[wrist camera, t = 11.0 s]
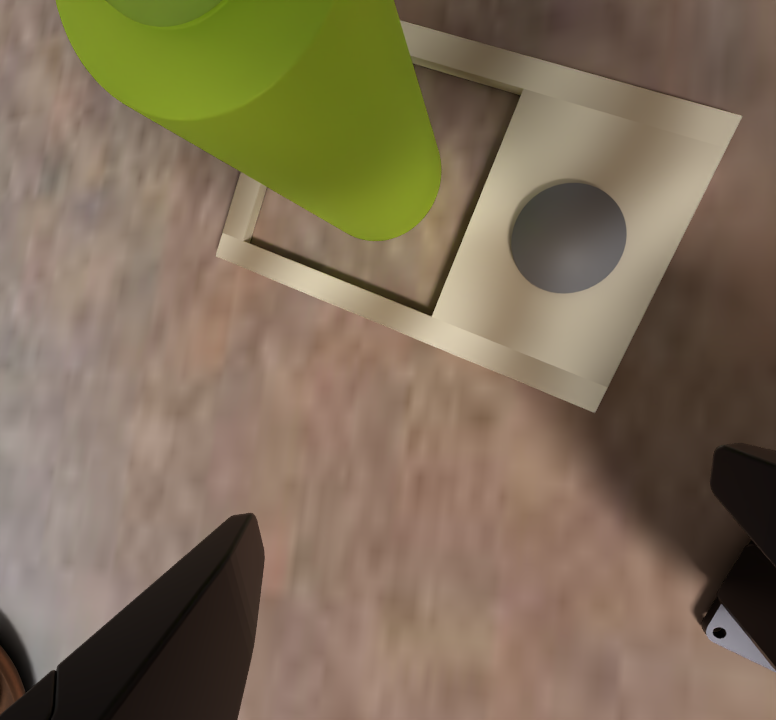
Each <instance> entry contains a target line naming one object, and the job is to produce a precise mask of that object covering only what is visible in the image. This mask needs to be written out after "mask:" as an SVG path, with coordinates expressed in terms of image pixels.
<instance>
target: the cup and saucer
mask: <svg viewBox="0 0 776 720" xmlns="http://www.w3.org/2000/svg"><path fill="white" fill-rule="evenodd" d="M24 694H25V690H24V686H23V684H22V681H21V678H20V676H19V674H18V671H17V669H16V668H15V666H14V664H13V662H12V661H11V659H10V657H9V656H8V655H7V653H6V652H5V650H4V649H3V648H2V647H1V646H0V714H1V713H2V712H4V711H5V710H6V709H7V708H8V707H10V706H11V705H12V704H13V703H14V702H16V701H17V700H18V699H19V698H20V697H22V696H23V695H24Z"/></svg>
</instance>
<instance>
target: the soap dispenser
mask: <svg viewBox="0 0 776 720" xmlns="http://www.w3.org/2000/svg"><path fill="white" fill-rule="evenodd" d="M56 4H57V8H58V12H59V15H60V18H61V21H62V24H63V27H64V29H65V32H66V34H67V36H68V39H69V41H70V43H71V45H72V47H73V49H74V51H75V52H76V54H77V56H78V57H79V59H80V61H81V62H82V64H83V65H84V66H85V68H86V69H87V70H88V72H89V73H90V74H91V75H92V77H93V78H94V79H95V80H96V81H97V82H98V83H99V84H100V85H101V86H102V87H103V88H104V89H105V90H106V91H107V92H108V93H110V94H111V95H112V96H113V97H115V98H116V99H117V100H119V101H120V102H122V103H123V104H125V105H127V106H128V107H130V108H132V109H133V110H135V111H137V112H138V113H140V114H142V115H144V116H145V117H147V118H149V119H151V120H152V121H154V122H156V123H157V124H159V125H161V126H163V127H164V128H166V129H168V130H170V131H171V132H173V133H175V134H176V135H178V136H180V137H182V138H183V139H185V140H187V141H189V142H190V143H192V144H194V145H195V146H197V147H199V148H201V149H202V150H204V151H206V152H208V153H209V154H211V155H213V156H214V157H216V158H218V159H220V160H221V161H223V162H225V163H227V164H228V165H230V166H232V167H233V168H235V169H237V170H239V171H240V172H242V173H244V174H246V175H247V176H249V177H251V178H252V179H254V180H256V181H258V182H259V183H261V184H263V185H265V186H266V187H268V188H270V189H271V190H273V191H275V192H277V193H278V194H280V195H282V196H283V197H285V198H287V199H289V200H290V201H292V202H294V203H296V204H297V205H299V206H301V207H302V208H304V209H306V210H308V211H309V212H311V213H313V214H315V215H316V216H318V217H320V218H321V219H323V220H325V221H327V222H328V223H330V224H332V225H334V226H335V227H337V228H339V229H340V230H342V231H344V232H346V233H347V234H349V235H351V236H353V237H356V238H359V239H363V240H368V241H383V240H389V239H392V238H395V237H398V236H400V235H402V234H404V233H406V232H408V231H409V230H411V229H412V228H414V227H415V226H416V225H417V224H418V223H419V222H420V221H421V220H422V219H423V218H424V217H425V216H426V214H427V213H428V211H429V210H430V208H431V207H432V205H433V203H434V201H435V199H436V196H437V193H438V190H439V186H440V181H441V160H440V154H439V151H438V147H437V144H436V141H435V137H434V134H433V130H432V127H431V124H430V120H429V117H428V114H427V110H426V107H425V104H424V100H423V97H422V93H421V90H420V87H419V83H418V80H417V77H416V73H415V70H414V66H413V63H412V60H411V56H410V53H409V50H408V46H407V43H406V40H405V36H404V33H403V29H402V26H401V23H400V19H399V16H398V13H397V9H396V6H395V3H394V0H56Z"/></svg>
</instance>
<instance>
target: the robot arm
mask: <svg viewBox="0 0 776 720" xmlns="http://www.w3.org/2000/svg"><path fill="white" fill-rule="evenodd" d="M710 485H711V489H712V491H713V493H714V495H715V496H716V498H717V499H718V500H719V501H720V502H721V504H722V505H723V506H724V507H725V508H726V509H727V511H728V512H729V513H730V514H731V515H732V517H733V518H734V519H735V520H736V521H737V522H738V524H739V525H740V526H741V527H742V528H743V530H744V531H745V532H746V533H747V534H748V536H749V537H750V538H751V539H752V540H751V542H750V543H749V545H748V546H746V547H745V548H744V550H743V551H742V553H741V555H740V556H739V558H738V560H737V561H736V563H735V564H734V566H733V568H732V569H731V571H730V573H729V574H728V576H727V578H726V579H725V581H724V583H723V584H722V586H721V588H720V589H719V591H718V593H717V598H716V599H715V601H714V603H713V604H712V606H711V608H710V609H709V611H708V613H707V614H706V616H705V618H704V619H703V621H702V624H701V625H702V629H703V631H704V632H705V634H706V635H707V637H708V638H709V640H711V641H712V642H714V643H716V644H718V645H720V646H722V647H724V648H726V649H728V650H730V651H732V652H735V653H737V654H739V655H741V656H743V657H745V658H747V659H749V660H751V661H753V662H755V663H757V664H759V665H762V666H764V667H766V668H768V669H770V670H772V671H774V672H776V451H774V450H770V449H765V448H761V447H757V446H752V445H748V444H744V443H734V444H727V445H721V446H719V447H717V448H716V450H715V451H714V455H713V463H712V470H711V478H710ZM264 559H265V556H264V547H263V543H262V539H261V535H260V530H259V526H258V522H257V519H256V516H255V515H254V514H253V513H246V514H239V515H233V516H231V517H229V518H228V519H227V520H226V521H225V522H223V523H222V524H221V525H220V526H219V527H218V528H217V529H215V530H214V531H213V532H212V533H211V534H210V535H208V536H207V537H206V538H205V539H204V540H203V541H201V542H200V543H199V544H198V545H197V546H196V547H195V548H193V549H192V550H191V551H190V552H189V553H188V554H186V555H185V556H184V557H183V558H182V559H181V560H179V561H178V562H177V563H176V564H175V565H174V566H172V567H171V568H170V569H169V570H168V571H167V572H166V573H164V574H163V575H162V576H161V577H160V578H159V579H157V580H156V581H155V582H154V583H153V584H152V585H150V586H149V587H148V588H147V589H146V590H145V591H144V592H142V593H141V594H140V595H139V596H138V597H137V598H135V599H134V600H133V601H132V602H131V603H130V604H128V605H127V606H126V607H125V608H124V609H123V610H121V611H120V612H119V613H118V614H117V615H116V616H115V617H113V618H112V619H111V620H110V621H109V622H108V623H106V624H105V625H104V626H103V627H102V628H101V629H99V630H98V631H97V632H96V633H95V634H94V635H92V636H91V637H90V638H89V639H88V640H87V641H86V642H84V643H83V644H82V645H81V646H80V647H79V648H77V649H76V650H75V651H74V652H73V653H72V654H70V655H69V656H68V657H67V658H66V659H65V660H63V661H62V662H61V663H60V664H59V665H58V666H57V671H55V670H52V671H51V672H49V673H48V674H47V675H46V676H45V677H44V678H42V679H41V680H40V681H39V682H38V683H37V684H36V685H34V686H33V687H32V688H31V689H30V690H29V691H27V692H26V693H25V694H24V695H23V696H22V697H20V698H19V699H18V700H17V701H16V702H14V703H13V704H12V705H11V706H10V707H8V708H7V709H6V710H5V711H4V712H2V713H1V714H0V720H237V719H238V715H239V710H240V706H241V701H242V697H243V693H244V688H245V684H246V680H247V675H248V671H249V667H250V662H251V658H252V653H253V648H254V642H255V635H256V627H257V619H258V611H259V603H260V594H261V586H262V578H263V569H264ZM717 627H721V630H720V631H718V632H713V630H714V629H715V628H717Z"/></svg>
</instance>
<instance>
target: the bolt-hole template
mask: <svg viewBox="0 0 776 720" xmlns="http://www.w3.org/2000/svg"><path fill="white" fill-rule="evenodd" d="M400 23H401V26H402V29H403V33H404V36H405V40H406V43H407V46H408V50H409V53H410V56H411V60H412V63H413V64H417V65H420V66H423V67H427V68H430V69H433V70H437V71H440V72H444V73H447V74H450V75H454V76H457V77H460V78H464V79H467V80H471V81H474V82H477V83H481V84H484V85H487V86H491V87H494V88H497V89H501V90H504V91H508V92H511V93H514V94H518V95H521V96H520V99H519V101H518V104H517V106H516V109H515V111H514V114H513V116H512V119H511V121H510V124H509V126H508V129H507V131H506V134H505V136H504V139H503V141H502V144H501V146H500V149H499V151H498V153H497V156H496V158H495V161H494V163H493V166H492V168H491V171H490V173H489V176H488V178H487V181H486V183H485V186H484V188H483V191H482V193H481V196H480V198H479V201H478V203H477V206H476V208H475V211H474V213H473V215H472V218H471V220H470V223H469V225H468V228H467V230H466V233H465V235H464V238H463V240H462V243H461V245H460V248H459V250H458V253H457V255H456V258H455V260H454V263H453V265H452V268H451V270H450V272H449V275H448V277H447V280H446V282H445V285H444V287H443V290H442V292H441V295H440V297H439V300H438V302H437V305H436V307H435V310H434V312H433V315H432V316H430V315H428V314H425V313H423V312H420V311H418V310H415V309H413V308H410V307H408V306H405V305H403V304H400V303H398V302H395V301H393V300H390V299H388V298H385V297H383V296H380V295H378V294H375V293H373V292H370V291H368V290H365V289H363V288H360V287H358V286H355V285H353V284H350V283H348V282H345V281H343V280H340V279H338V278H335V277H333V276H330V275H328V274H325V273H323V272H320V271H318V270H316V269H313V268H311V267H308V266H306V265H303V264H301V263H298V262H296V261H293V260H291V259H288V258H286V257H283V256H281V255H278V254H276V253H273V252H271V251H268V250H266V249H263V248H261V247H258V246H256V245H253V244H251V243H250V241H251V237H252V234H253V231H254V228H255V225H256V221H257V218H258V215H259V212H260V209H261V205H262V202H263V199H264V196H265V193H266V189H267V187H266V186H265V185H263V184H261V183H259V182H258V181H256V180H254V179H252V178H251V177H249V176H247V175H246V174H244V173H242V172H241V173H240V176H239V180H238V183H237V186H236V190H235V193H234V196H233V200H232V203H231V206H230V210H229V213H228V216H227V220H226V223H225V226H224V230H223V233H222V236H221V240H220V243H219V246H218V250H217V253H216V256H217V257H219V258H221V259H224V260H226V261H229V262H231V263H233V264H236V265H238V266H241V267H243V268H246V269H248V270H250V271H253V272H255V273H258V274H260V275H262V276H265V277H267V278H270V279H272V280H275V281H277V282H279V283H282V284H284V285H287V286H289V287H291V288H294V289H296V290H299V291H301V292H304V293H306V294H308V295H311V296H313V297H316V298H318V299H320V300H323V301H325V302H328V303H330V304H333V305H335V306H337V307H340V308H342V309H345V310H347V311H349V312H352V313H354V314H357V315H359V316H362V317H364V318H366V319H369V320H371V321H374V322H376V323H378V324H381V325H383V326H386V327H388V328H391V329H393V330H395V331H398V332H400V333H403V334H405V335H407V336H410V337H412V338H415V339H417V340H420V341H422V342H424V343H427V344H429V345H432V346H434V347H436V348H439V349H441V350H444V351H446V352H449V353H451V354H453V355H456V356H458V357H461V358H463V359H465V360H468V361H470V362H473V363H475V364H478V365H480V366H482V367H485V368H487V369H490V370H492V371H494V372H497V373H499V374H502V375H504V376H507V377H509V378H511V379H514V380H516V381H519V382H521V383H523V384H526V385H528V386H531V387H533V388H536V389H538V390H540V391H543V392H545V393H548V394H550V395H552V396H555V397H557V398H560V399H562V400H565V401H567V402H569V403H572V404H574V405H577V406H579V407H581V408H584V409H586V410H589V411H591V412H594V413H595V412H596V410H597V408H598V406H599V404H600V402H601V400H602V398H603V396H604V394H605V392H606V390H607V388H608V386H609V384H610V382H611V380H612V378H613V376H614V374H615V372H616V370H617V368H618V366H619V364H620V362H621V360H622V358H623V355H624V353H625V351H626V349H627V347H628V345H629V343H630V341H631V339H632V337H633V335H634V333H635V331H636V329H637V327H638V325H639V323H640V321H641V319H642V317H643V315H644V313H645V311H646V309H647V307H648V305H649V303H650V301H651V299H652V297H653V295H654V293H655V291H656V289H657V287H658V285H659V283H660V281H661V279H662V277H663V275H664V273H665V271H666V269H667V267H668V265H669V263H670V261H671V259H672V257H673V255H674V253H675V251H676V249H677V247H678V245H679V243H680V241H681V239H682V237H683V235H684V233H685V231H686V229H687V227H688V225H689V223H690V221H691V219H692V217H693V215H694V213H695V211H696V209H697V207H698V205H699V203H700V201H701V199H702V197H703V195H704V192H705V190H706V188H707V186H708V184H709V182H710V180H711V178H712V176H713V174H714V172H715V170H716V168H717V166H718V164H719V162H720V160H721V158H722V156H723V154H724V152H725V150H726V148H727V146H728V144H729V142H730V140H731V138H732V136H733V134H734V132H735V130H736V128H737V126H738V124H739V122H740V120H741V118H742V116H740V115H737V114H733V113H730V112H726V111H723V110H719V109H715V108H712V107H708V106H705V105H701V104H698V103H694V102H690V101H687V100H683V99H680V98H676V97H673V96H669V95H665V94H662V93H658V92H655V91H651V90H648V89H644V88H640V87H637V86H633V85H630V84H626V83H623V82H619V81H615V80H612V79H608V78H605V77H601V76H598V75H594V74H590V73H587V72H583V71H580V70H576V69H573V68H569V67H565V66H562V65H558V64H555V63H551V62H548V61H544V60H540V59H537V58H533V57H530V56H526V55H523V54H519V53H515V52H512V51H508V50H505V49H501V48H498V47H494V46H491V45H487V44H483V43H480V42H476V41H473V40H469V39H466V38H462V37H458V36H455V35H451V34H448V33H444V32H441V31H437V30H433V29H430V28H426V27H423V26H419V25H416V24H412V23H408V22H405V21H401V20H400Z"/></svg>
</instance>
